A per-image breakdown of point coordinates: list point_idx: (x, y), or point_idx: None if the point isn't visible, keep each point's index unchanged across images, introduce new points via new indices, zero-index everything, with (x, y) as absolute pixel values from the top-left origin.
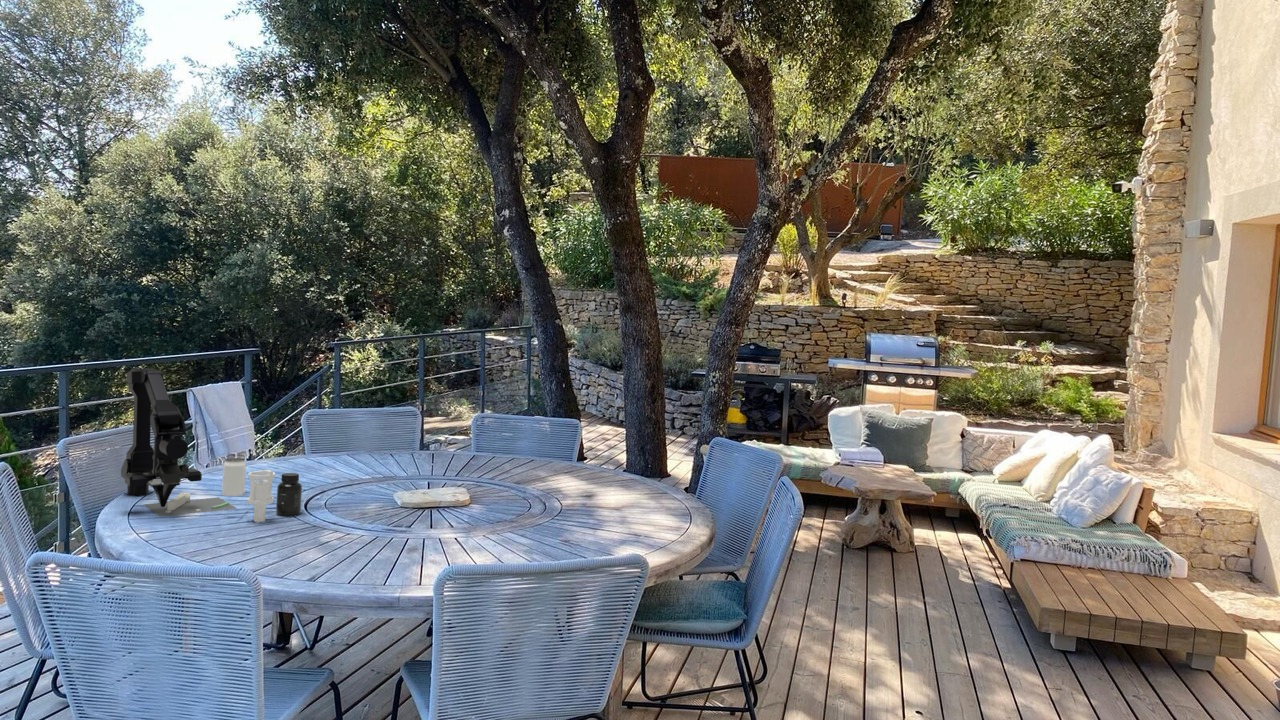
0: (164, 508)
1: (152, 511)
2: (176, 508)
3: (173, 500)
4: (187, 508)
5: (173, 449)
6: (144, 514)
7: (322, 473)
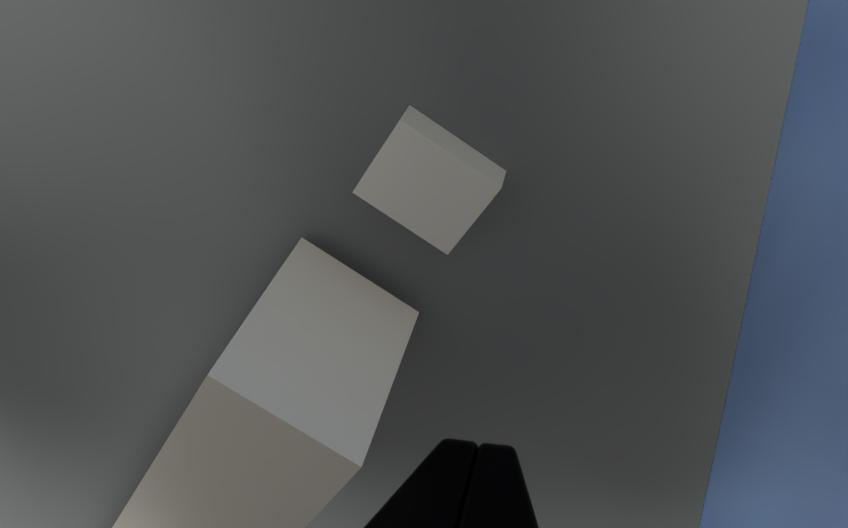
0: None
1: (722, 410)
2: None
3: (202, 525)
4: (32, 296)
5: None
6: (825, 452)
7: None
